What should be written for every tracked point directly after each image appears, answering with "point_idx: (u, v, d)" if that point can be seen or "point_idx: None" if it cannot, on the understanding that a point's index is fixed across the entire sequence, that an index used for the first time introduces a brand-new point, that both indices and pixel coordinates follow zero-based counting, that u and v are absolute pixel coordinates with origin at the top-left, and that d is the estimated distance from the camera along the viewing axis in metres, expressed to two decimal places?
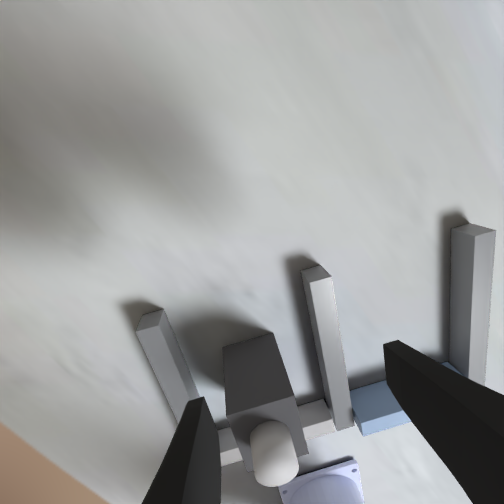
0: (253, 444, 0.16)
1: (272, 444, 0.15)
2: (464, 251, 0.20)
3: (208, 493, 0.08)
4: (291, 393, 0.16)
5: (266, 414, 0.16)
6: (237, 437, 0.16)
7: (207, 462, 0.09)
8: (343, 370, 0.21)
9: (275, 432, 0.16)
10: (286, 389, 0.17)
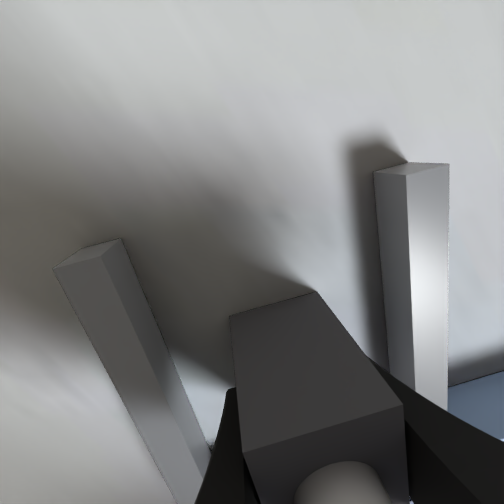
0: None
1: None
2: None
3: None
4: (393, 399, 0.07)
5: (334, 447, 0.07)
6: (266, 498, 0.07)
7: None
8: (443, 356, 0.12)
9: (361, 493, 0.07)
10: (377, 390, 0.07)
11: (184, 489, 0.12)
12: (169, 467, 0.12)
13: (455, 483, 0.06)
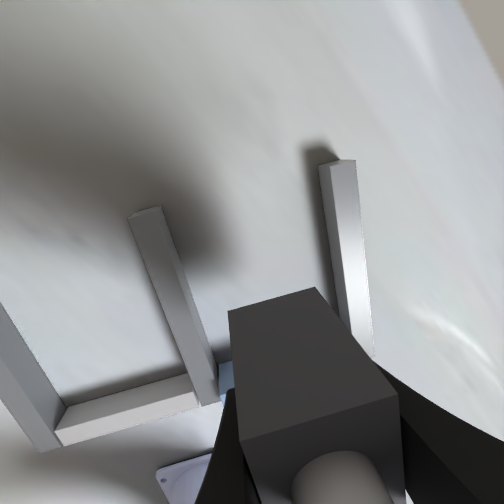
0: None
1: None
2: (328, 189, 0.17)
3: None
4: (389, 389, 0.07)
5: (331, 437, 0.07)
6: (263, 487, 0.07)
7: None
8: (194, 332, 0.18)
9: (357, 482, 0.07)
10: (373, 380, 0.07)
11: (27, 421, 0.19)
12: (12, 405, 0.18)
13: (456, 482, 0.06)
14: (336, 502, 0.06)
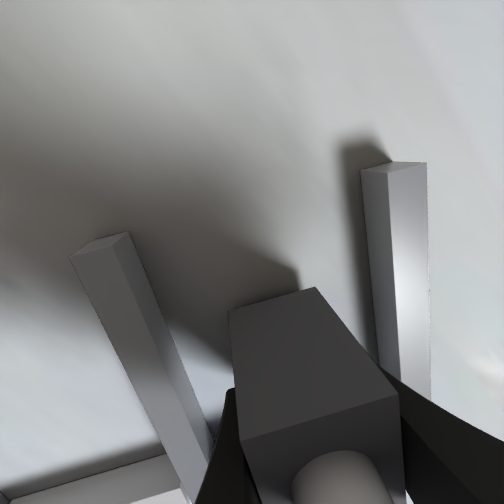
0: None
1: None
2: (378, 207, 0.11)
3: None
4: (389, 388, 0.07)
5: (331, 437, 0.07)
6: (263, 487, 0.07)
7: None
8: (180, 413, 0.12)
9: (357, 481, 0.07)
10: (373, 380, 0.07)
11: None
12: None
13: (455, 482, 0.06)
14: (336, 502, 0.06)
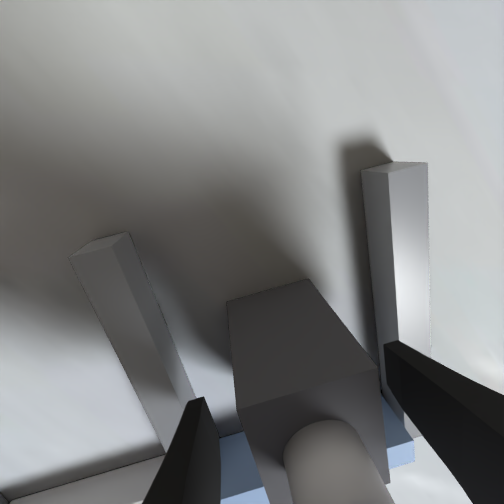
0: (294, 470, 0.07)
1: (340, 472, 0.07)
2: (378, 207, 0.11)
3: (208, 493, 0.08)
4: (370, 363, 0.08)
5: (318, 407, 0.08)
6: (258, 453, 0.08)
7: (207, 462, 0.09)
8: (180, 413, 0.12)
9: (341, 445, 0.07)
10: (356, 357, 0.08)
11: None
12: None
13: None
14: (322, 461, 0.07)
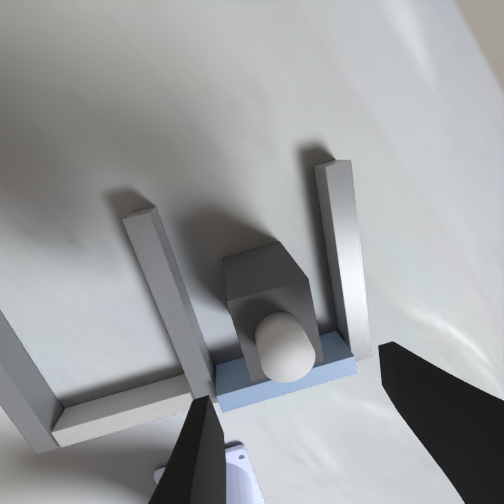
0: (259, 335, 0.13)
1: (282, 329, 0.12)
2: (323, 190, 0.17)
3: (214, 491, 0.08)
4: (304, 277, 0.14)
5: (274, 303, 0.14)
6: (239, 332, 0.14)
7: (213, 460, 0.09)
8: (190, 333, 0.18)
9: (286, 320, 0.13)
10: (298, 275, 0.14)
11: (24, 423, 0.19)
12: (9, 406, 0.18)
13: None
14: (274, 327, 0.13)
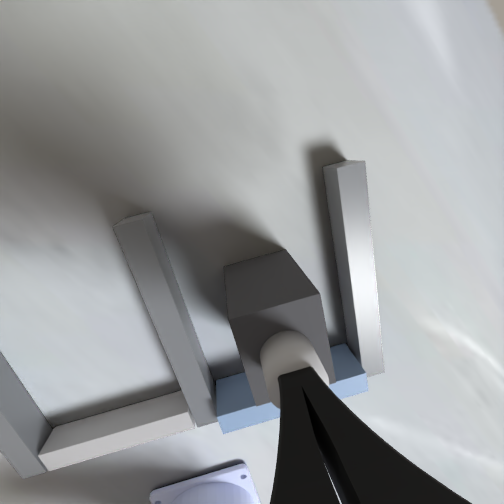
0: (265, 357, 0.12)
1: (292, 352, 0.11)
2: (334, 193, 0.15)
3: None
4: (315, 292, 0.12)
5: (282, 320, 0.12)
6: (243, 353, 0.12)
7: None
8: (188, 348, 0.17)
9: (295, 341, 0.12)
10: (308, 289, 0.12)
11: (8, 446, 0.17)
12: None
13: None
14: (282, 348, 0.11)
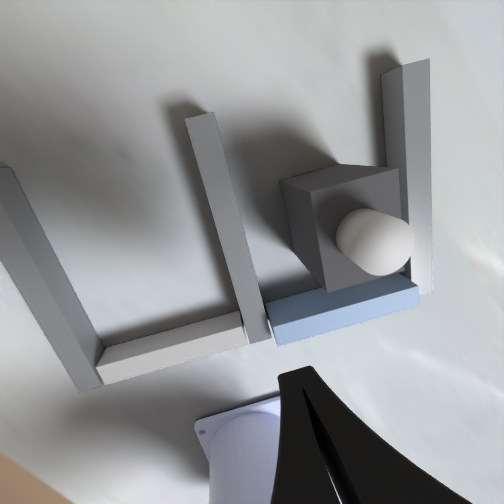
0: (346, 228, 0.12)
1: (377, 215, 0.11)
2: (394, 97, 0.16)
3: None
4: (393, 168, 0.12)
5: (360, 196, 0.12)
6: (320, 231, 0.13)
7: None
8: (247, 256, 0.17)
9: (376, 212, 0.12)
10: (384, 169, 0.13)
11: (68, 355, 0.17)
12: (53, 335, 0.17)
13: None
14: (365, 215, 0.12)
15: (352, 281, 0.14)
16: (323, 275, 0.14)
